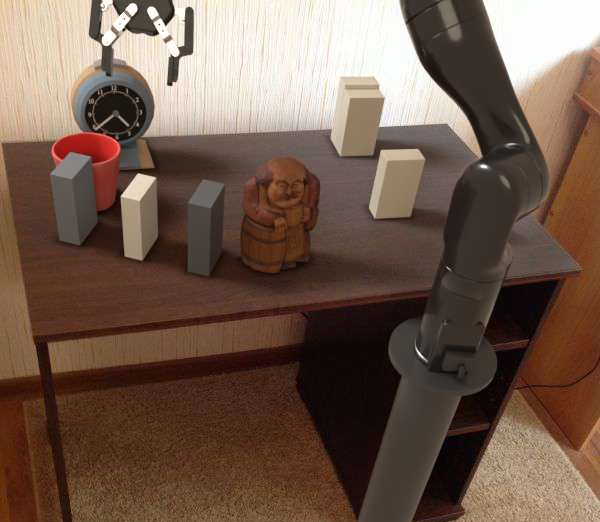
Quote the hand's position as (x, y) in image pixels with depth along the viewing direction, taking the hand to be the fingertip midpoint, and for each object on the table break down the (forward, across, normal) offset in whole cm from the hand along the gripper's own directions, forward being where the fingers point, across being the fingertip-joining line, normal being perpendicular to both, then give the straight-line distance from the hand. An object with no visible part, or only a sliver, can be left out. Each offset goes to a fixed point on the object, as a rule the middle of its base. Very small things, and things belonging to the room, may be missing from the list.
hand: (139, 81), depth 107 cm
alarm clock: (+13, -7, +31) cm, 34 cm away
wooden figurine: (+24, +23, +6) cm, 34 cm away
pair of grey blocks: (+24, +1, +7) cm, 25 cm away
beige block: (+24, +1, +7) cm, 25 cm away
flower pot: (+20, -9, +18) cm, 28 cm away
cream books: (+10, +41, +31) cm, 52 cm away
